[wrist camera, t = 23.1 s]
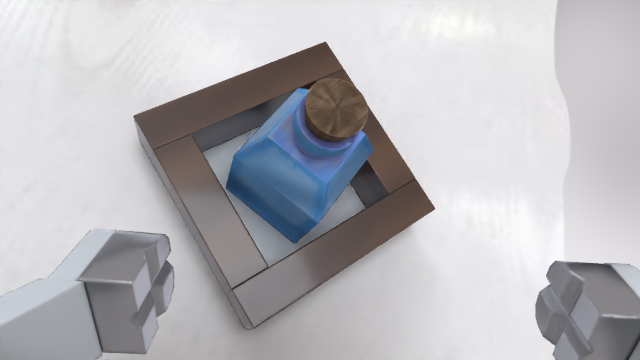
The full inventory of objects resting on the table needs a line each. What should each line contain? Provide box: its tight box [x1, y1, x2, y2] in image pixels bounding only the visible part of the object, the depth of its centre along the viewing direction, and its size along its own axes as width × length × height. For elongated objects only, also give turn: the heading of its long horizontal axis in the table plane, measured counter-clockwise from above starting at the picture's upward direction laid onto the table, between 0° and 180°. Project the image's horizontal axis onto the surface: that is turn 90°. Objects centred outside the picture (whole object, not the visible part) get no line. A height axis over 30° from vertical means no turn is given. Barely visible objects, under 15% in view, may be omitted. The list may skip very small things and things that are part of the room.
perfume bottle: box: [226, 78, 374, 243], centre depth 26 cm, size 6×6×12 cm
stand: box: [133, 42, 435, 329], centre depth 30 cm, size 14×14×4 cm
